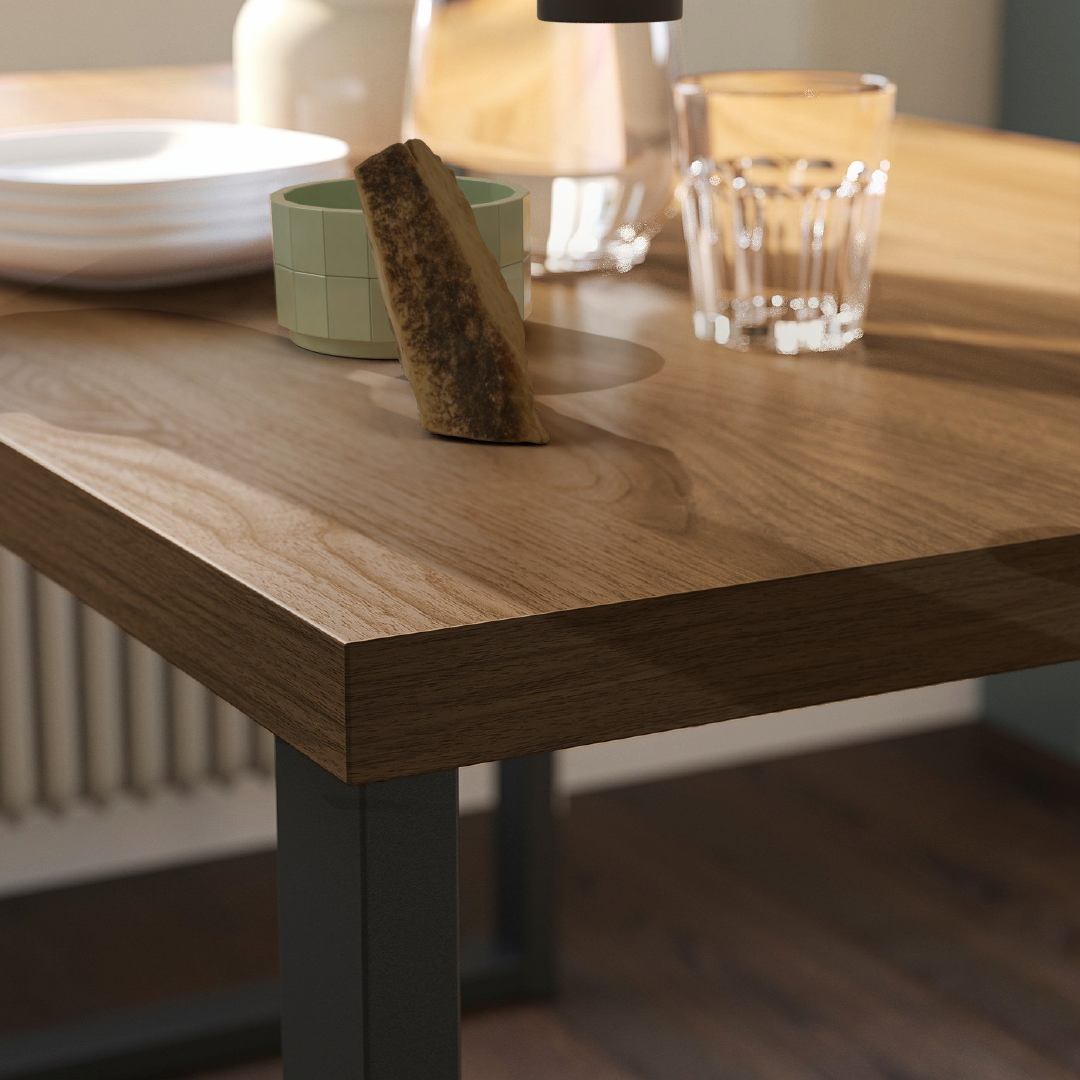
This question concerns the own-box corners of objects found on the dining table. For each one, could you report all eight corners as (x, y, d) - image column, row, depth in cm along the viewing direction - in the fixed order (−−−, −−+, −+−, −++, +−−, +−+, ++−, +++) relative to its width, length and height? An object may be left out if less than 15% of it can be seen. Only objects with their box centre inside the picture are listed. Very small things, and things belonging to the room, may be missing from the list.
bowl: (243, 358, 71) (233, 210, 69) (318, 304, 81) (312, 173, 79) (504, 366, 70) (502, 214, 68) (548, 309, 80) (547, 176, 78)
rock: (341, 305, 70) (235, 323, 60) (469, 131, 67) (379, 121, 57) (547, 482, 69) (472, 529, 59) (685, 313, 66) (629, 334, 57)
